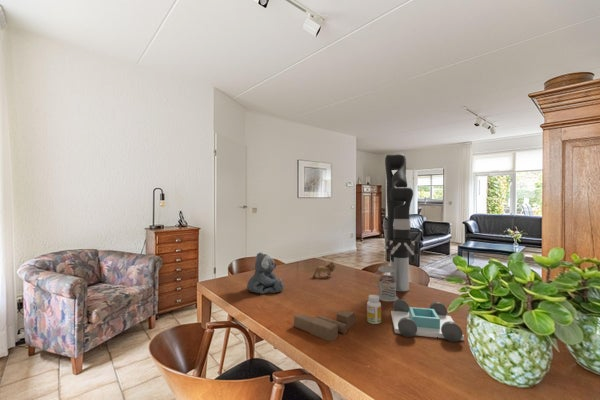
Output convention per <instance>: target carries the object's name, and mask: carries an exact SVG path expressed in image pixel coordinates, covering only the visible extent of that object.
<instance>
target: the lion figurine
mask: <svg viewBox="0 0 600 400" xmlns="http://www.w3.org/2000/svg"><path fill="white" fill-rule="evenodd" d="M336 266H337V265H336V262H334V261H331V262H329V263H328V264H326V266H323V265H318V266H316V267H315V270H314V274H313V276H312V277H313V278H314V277H319V278H322V276H321V272H322V273H326V274H327V275H326V276H327V277H329V278H332V276H331V274H332V273H333V272H334V271H335V269H336Z"/></svg>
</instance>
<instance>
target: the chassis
mask: <svg viewBox="0 0 600 400" xmlns="http://www.w3.org/2000/svg"><path fill="white" fill-rule="evenodd" d="M392 305H393V306H392V307H393V310H391V311H390V315H391V320H392V325H393V330H394V333H395V334H399V335H402V336H403V337H405V338H412V337H414V336H420V337H427V338H429V337H430V338H437V337H438V339H445V340H447V341H448V342H450V341H451V342H450V343H457V342H459V341H465V336H464V334H463V330H462V329H461V327H460V325H459V324H457V323H456V322H455V321H454V320H453V318H452V316H451V315H447V314H448V309H447V308H446V306H445V305H444V304H443V302H439V301H434V302H431V303H430V305H429V308H426V307H414V306H413V307H412V306H409V304H408V302H407V301H406V300H405V299H403V298H398V299H397V300H395V301H393V303H392Z"/></svg>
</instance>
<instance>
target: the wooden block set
mask: <svg viewBox="0 0 600 400" xmlns="http://www.w3.org/2000/svg"><path fill="white" fill-rule="evenodd" d="M355 313H356V312H355V311H349V310H348V311H347V310H340V311H338V312H337V313H336V318H335V320H334V319H333V318H332V319H331V318H329V317H325V316H322V315H317V316H316V317H313V316H310V315H308V314H304V313H300V314H296V315H294V316H293V327H294V328H297V329H299V330H302V331H304V332H308V333H309V334H310V335H312V336H314V337H318V338H320V339H322V340H326V341H328V342H333V341H334V340H336V339H337V338H338V337H339V333H342V334H344V335H346V334H347V331H348V329H349V328H351V327H353V325H355V324H356V319H355Z"/></svg>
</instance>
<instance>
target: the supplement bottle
mask: <svg viewBox="0 0 600 400" xmlns="http://www.w3.org/2000/svg"><path fill="white" fill-rule="evenodd" d="M377 295H378V294H369V295H368V301H367V302H366V320H367V321H366V322H368V323H369V324H372V325H377V324H380V323H382V304H381V302H380V299H379V296H377Z"/></svg>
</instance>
